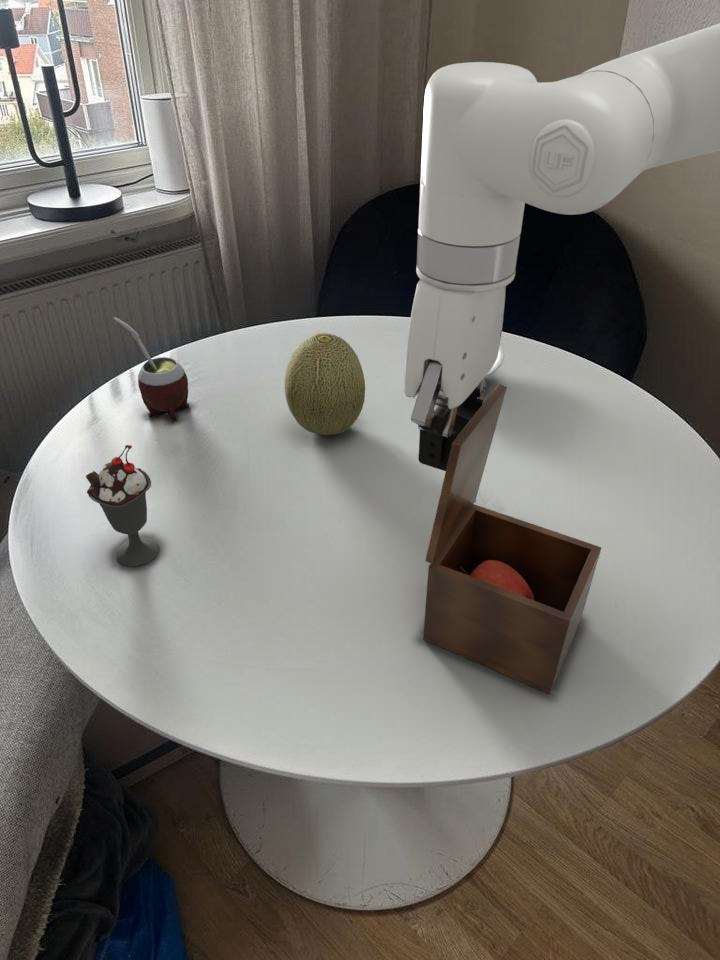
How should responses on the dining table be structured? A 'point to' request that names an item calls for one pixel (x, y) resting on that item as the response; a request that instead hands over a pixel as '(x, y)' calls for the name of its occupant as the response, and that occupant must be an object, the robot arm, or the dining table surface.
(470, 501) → the lid
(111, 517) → the sundae
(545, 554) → the chest
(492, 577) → the apple
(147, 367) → the mate gourd
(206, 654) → the dining table surface
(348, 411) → the fruit
